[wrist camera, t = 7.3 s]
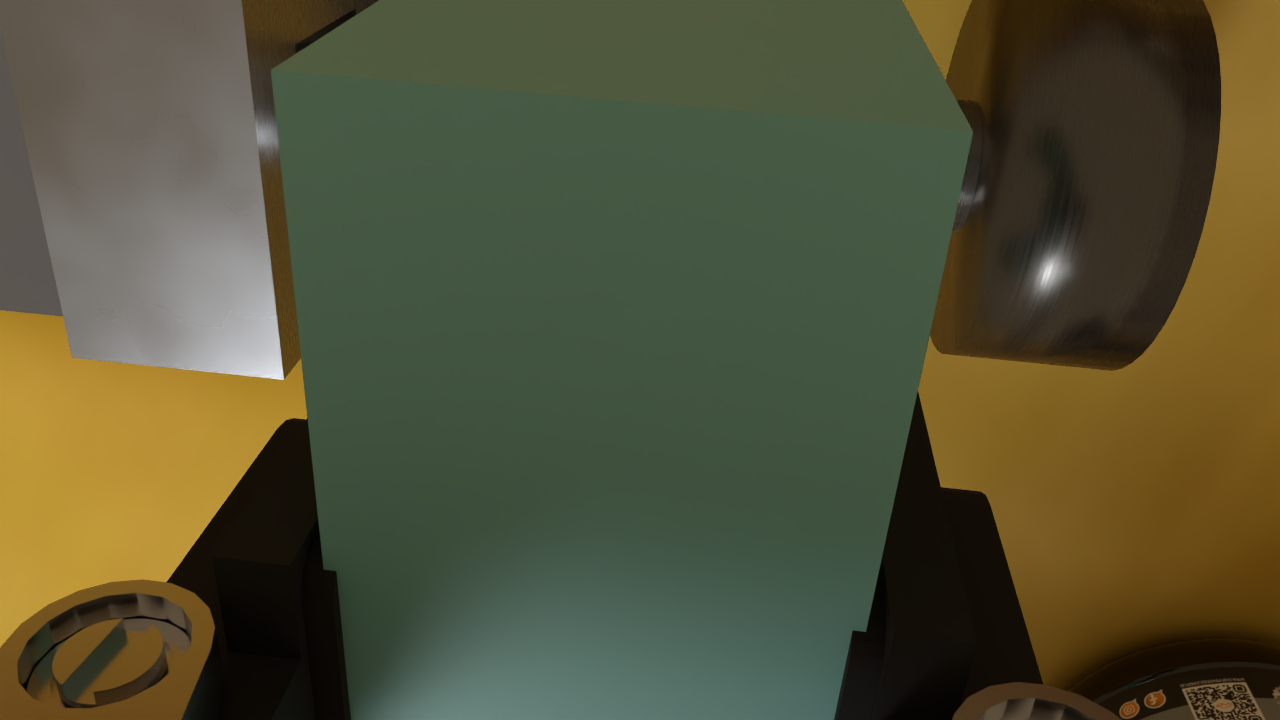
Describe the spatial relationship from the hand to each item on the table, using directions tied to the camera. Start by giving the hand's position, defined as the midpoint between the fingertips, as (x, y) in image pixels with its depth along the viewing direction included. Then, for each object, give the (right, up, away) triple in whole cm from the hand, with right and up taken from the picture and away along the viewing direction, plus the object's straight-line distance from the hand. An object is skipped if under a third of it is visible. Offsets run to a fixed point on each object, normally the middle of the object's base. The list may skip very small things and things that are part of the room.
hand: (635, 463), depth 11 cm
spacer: (+1, +3, +5) cm, 5 cm away
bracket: (-7, +8, +15) cm, 18 cm away
